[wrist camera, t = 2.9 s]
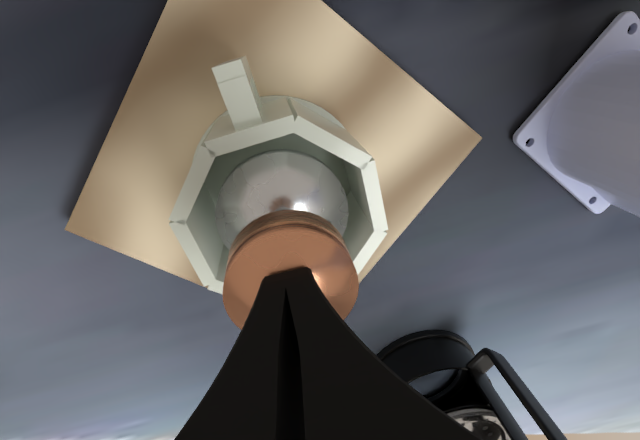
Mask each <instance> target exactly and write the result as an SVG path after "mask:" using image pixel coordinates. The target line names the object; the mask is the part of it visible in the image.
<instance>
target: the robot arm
mask: <svg viewBox="0 0 640 440" xmlns="http://www.w3.org/2000/svg"><path fill="white" fill-rule="evenodd" d="M629 26H630V30H629V31H628V28H629ZM627 31H628V32H627ZM529 138H530V141H529V143H528V144H526V141H527V140H528V139H529ZM513 142H514V144H516V145H517V146H518V147H519V148H520V149H521V150H522V151H523V152H525V153H526V154H527V155H528V156H529V157H530V158H531V159H532V160H534V161H535V162H536V163H537V164H538V165H539V166H540V167H541V168H542V169H544V170H545V171H546V172H547V173H548V174H549V175H550V176H551V177H553V178H554V179H555V180H556V181H557V182H558V183H559V184H560V185H562V186H563V187H564V188H565V189H566V190H567V191H568V192H569V193H571V194H572V195H573V196H574V197H575V198H576V199H577V200H578V201H579V202H581V203H582V204H583V205H584V206H585V207H586V208H587V209H588V210H590V211H591V212H593V213H595V214H599V213H602V212H603V211H604V210H605V209H606V208H607V207H608V206H610V205H611V204H612V205H615V206H617V207H619V208H621V209H623V210H625V211H627V212H630V213H632V214H634V215H636V216H638V217H640V19H639V18H638V16H637V15H636V14H635V13H634V12H633V11H626V12H622V13H620V14H619V15H618V16H617V17H616V18H615V19H614V20H613V21H612V22H611V23H610V25H609V26H608V27H607V28H606V29H605V30H604V31H603V33H602V34H601V35H600V36H599V37H598V38H597V39H596V41H595V42H594V43H593V44H592V45H591V46H590V47H589V49H588V50H587V51H586V52H585V53H584V54H583V55H582V57H581V58H580V59H579V60H578V61H577V62H576V63H575V65H574V66H573V67H572V68H571V69H570V70H569V71H568V73H567V74H566V75H565V76H564V77H563V78H562V79H561V81H560V82H559V83H558V84H557V85H556V86H555V87H554V89H553V90H552V91H551V92H550V93H549V94H548V95H547V96H546V98H545V99H544V100H543V101H542V102H541V103H540V104H539V106H538V107H537V108H536V109H535V110H534V111H533V112H532V114H531V115H530V116H529V117H528V118H527V119H526V120H525V122H524V123H523V124H522V125H521V126H520V127H519V128H518V130H517V131H516V132H515V134H514V135H513ZM174 440H483V439H481V438H480V437H479V436H477V435H476V434H474V433H473V432H471V431H470V430H468V429H467V428H465V427H464V426H462V425H461V424H460V423H458V422H457V421H456V420H454V419H453V418H451V417H450V416H449V415H447V414H446V413H445V412H443V411H442V410H440V409H439V408H438V407H436V406H435V405H434V404H432V403H431V402H430V401H429V400H427V399H426V398H425V397H424V396H422V395H421V394H420V393H419V392H417V391H416V390H415V389H414V388H413V387H411V386H410V385H409V384H408V383H406V382H405V381H404V380H403V379H401V378H400V377H399V376H398V375H397V374H396V373H394V372H393V371H392V370H391V369H390V368H389V367H388V366H387V365H386V364H384V363H383V362H382V361H381V360H380V359H379V358H378V357H377V356H376V355H375V354H374V353H373V352H372V351H371V350H370V349H369V348H368V347H367V346H366V345H365V344H364V343H363V342H362V341H361V340H360V339H359V338H358V337H357V336H356V334H355V333H354V332H353V331H352V330H351V329H350V328H349V326H348V325H347V324H346V323H345V322H344V321H343V319H342V318H341V317H340V316H339V314H338V313H337V312H336V310H335V309H334V308H333V306H332V305H331V304H330V302H329V301H328V300H327V298H326V297H325V295H324V294H323V292H322V291H321V289H320V287H319V286H318V284H317V282H316V280H315V278H314V276H313V273H312V270H311V269H310V268H308V267H303V268H299V269H295V270H291V271H286V272H282V273H278V274H273V275H269V276H265V277H264V278H263V280H262V282H261V285H260V287H259V290H258V293H257V296H256V298H255V301H254V303H253V306H252V308H251V310H250V313H249V315H248V317H247V319H246V321H245V324H244V326H243V328H242V330H241V332H240V334H239V336H238V338H237V340H236V342H235V344H234V346H233V348H232V350H231V352H230V354H229V355H228V357H227V359H226V361H225V363H224V365H223V367H222V368H221V370H220V372H219V373H218V375H217V377H216V379H215V380H214V382H213V383H212V385H211V387H210V388H209V390H208V391H207V393H206V394H205V396H204V398H203V399H202V401H201V402H200V404H199V405H198V407H197V408H196V410H195V411H194V412H193V414H192V415H191V417H190V418H189V420H188V421H187V422H186V424H185V425H184V427H183V428H182V430H181V431H180V432H179V434H178V435H177V437H176V438H175V439H174Z"/></svg>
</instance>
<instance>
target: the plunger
mask: <svg viewBox="0 0 640 440" xmlns="http://www.w3.org/2000/svg"><path fill="white" fill-rule="evenodd" d="M215 220H216V226H217V230H218V233H219V235H220V238H221V239H222V241H223V243H224V244H225V246H226V247H227V248H228V250H229V254H228V260H227V266H226V272H225V278H224V284H223V302H224V306H225V309H226V311H227V314H228V315H229V317H230V318H231V320H232V321H233V322H234V323H235V324H236V326H238V327H239V328H240V329H241V330H242V328H243V326H244V324H245V321H246V319H247V317H248V315H249V313H250V310H251V308H252V306H253V303H254V301H255V298H256V296H257V293H258V290H259V287H260V285H261V282H262V280H263V278H264V277H265V276H269V275H273V274H278V273H282V272H286V271H291V270H295V269H299V268H303V267H308V268H310V269H311V270H312V273H313V276H314V278H315V280H316V282H317V284H318V286H319V287H320V289H321V291H322V292H323V294H324V295H325V297H326V298H327V300H328V301H329V302H330V304H331V305H332V306H333V308H334V309H335V310H336V312H337V313H338V314H339V316H340V317H341V318H342V319H343V320H344V319H345V318H346V317H347V315H348V314H349V313H350V311H351V310H352V308H353V306H354V304H355V302H356V299H357V295H358V289H359V280H358V275H357V272H356V269H355V266H354V264H353V261H352V259H351V256H350V254H349V252H348V249H347V247H346V244H345V242H344V239H343V238H342V236H343V234H344V232H345V229H346V226H347V222H348V202H347V197H346V194H345V191H344V189H343V187H342V185H341V183H340V181H339V180H338V178H337V177H336V175H335V174H334V172H333V171H332V170H331V169H330V168H329V167H328V166H327V165H326V164H324V163H323V162H322V161H321V160H319V159H317V158H316V157H314V156H312V155H309V154H307V153H304V152H300V151H297V150H290V149H276V150H268V151H264V152H261V153H258V154H255V155H253V156H251V157H249V158H247V159H245V160H244V161H242V162H241V163H240V164H238V165H237V166H236V167H235V168H234V169H233V170H232V171H231V172H230V174H229V175H228V176H227V177H226V179H225V181H224V183H223V184H222V187H221V189H220V192H219V195H218V198H217V203H216V208H215Z"/></svg>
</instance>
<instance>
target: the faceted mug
mask: <svg viewBox="0 0 640 440" xmlns="http://www.w3.org/2000/svg"><path fill="white" fill-rule="evenodd" d="M212 71H213V73H214V76H215V78H216V81H217V84H218V87H219V89H220V92H221V95H222V97H223V100H224V102H225V105H226V107H227V110H226V111H225V112H224V113H223V114H221V115H220V116H219V117H218V118H217V119H216V120H215V121H214V122H213V123H212V124H211V125H210V126H209V128H208V129H207V130H206V132H205V133H204V135H203V136H202V138H201V140H200V142H199V144H198V146H197V148H196V151H195V154H194V157H193V161H192V166H191V168H190V171H189V173H188V175H187V178H186V180H185V182H184V185H183V187H182V189H181V192H180V194H179V196H178V198H177V201H176V203H175V205H174V208H173V210H172V212H171V215H170V217H169V219H168V220H170V222H169V225H170V227H171V229H172V230H173V232H174V234H175V236H176V238H177V239H178V241H179V243H180V245H181V247H182V248H183V250H184V252H185V254H186V255H187V257H188V259H189V261H190V263H191V264H192V266H193V268H194V270H195V272H196V273H197V275H198V277H199V279H200V281H201V282H202V284H203V286H204V287H205V286H208V288H207V289H208V290H211V291H214V292H217V293H220V294H223V284H224V278H225V272H226V266H227V260H228V254H229V250H228V248H227V247H226V246H225V244H224V243H223V241H222V239H221V238H220V235H219V233H218V230H217V226H216V220H215V208H216V203H217V198H218V195H219V192H220V189H221V187H222V184H223V183H224V181H225V179H226V177H227V176H228V175H229V174H230V172H231V171H232V170H233V169H234V168H235V167H236V166H237V165H238V164H240V163H241V162H242V161H244V160H245V159H247V158H249V157H251V156H253V155H255V154H258V153H261V152H264V151H268V150H276V149H290V150H297V151H300V152H304V153H307V154H309V155H312V156H314V157H316V158H317V159H319V160H321V161H322V162H323V163H324V164H326V165H327V166H328V167H329V168H330V169H331V170H332V171H333V172H334V174H335V175H336V177H337V178H338V180H339V181H340V183H341V185H342V187H343V189H344V191H345V194H346V197H347V202H348V222H347V226H346V229H345V232H344V234H343V236H342V238H343V239H344V242H345V244H346V247H347V249H348V252H349V254H350V256H351V259H352V261H353V264H354V266H355V269H356V272H357V275H358V274H359V273H360V271H361V270H362V269H363V267H364V266H365V264H366V263H367V262H368V260H369V259H370V257H371V256H372V254H373V253H374V252H375V250H376V249H377V247H378V246H379V245H380V243H381V242H382V240H383V239H384V238H385V236H386V235H387V232H386V230H388V225H387V220H386V215H385V210H384V205H383V200H382V195H381V190H380V184H379V179H378V174H377V169H376V164H375V160H374V159H373V158H372V156H371V155H370V154H369V153H368V152H367V151H366V150H365V149H364V148H363V147H362V146H361V144H360V143H359V142H358V141H357V140H356V139H355V138H354V137H353V136H352V135H351V134H350V133H349V132H348V131H347V130H346V129H345V128H344V126H343V125H342V124H341V123H340V122H339V121H338V120H337V119H336V118H335V117H334V116H333V115H332V114H330V113H329V112H328V111H326V110H325V109H323V108H322V107H320V106H318V105H316V104H314V103H312V102H310V101H307V100H304V99H301V98H297V97H292V96H286V95H269V96H259V93H258V90H257V87H256V84H255V81H254V78H253V75H252V72H251V70H250V67H249V64H248V61H247V58H246V55H245V56H242V57H239V58H236V59H232V60H229V61H226V62H223V63H221V64H219V65H217V66H214V67H212Z"/></svg>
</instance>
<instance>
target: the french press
mask: <svg viewBox="0 0 640 440" xmlns="http://www.w3.org/2000/svg"><path fill="white" fill-rule="evenodd" d="M377 357H378V358H379V359H380V360H381V361H382V362H383V363H384V364H386V365H387V366H388V367H389V368H390V369H391V370H392V371H393V372H394V373H396V374H397V375H398V376H399V377H400V378H401V379H403V380H404V381H405V382H406V383H410V382H411V381H413V380H415V379H418V378H420V377H422V376H424V375H427V374H430V373H433V372H437V371H442V370H448V369H459V372H458V374H457V376H456V378H455V379H454V381H453V382H452V383H451V384H450V385H449V386H448V387H447V388H446V389H444V390H443V391H441V392H440V393H438V394H436V395H434V396H432V397H430V398H427V400H429V401H430V402H431V403H432V404H434V405H435V406H436V407H438V408H439V409H440V410H442V411H443V412H445V413H446V414H447V415H449V416H450V417H451V418H453V419H454V420H456V421H457V422H458V423H460V424H461V425H462V426H464V427H465V428H467V429H468V430H470V431H471V432H473V433H474V434H476V435H477V436H479V437H480V438H481V439H483V440H528V439H527V437H526V436H525V434H524V433H523V431H522V430H521V428H520V427H519V425H518V424H517V422H516V421H515V419H514V418H513V416H512V415H511V413H510V412H509V410H508V409H507V407H506V406H505V404H504V403H503V401H502V400H501V398H500V397H499V395H498V394H497V392H496V391H495V389H494V388H493V386H492V384H491V381H490V379H489V378H488V376H487V375H486V372H487V371H488V370H489V369H490V368H491V367H492V366H493V365H495V366H496V368H497V369H498V370H499V372H500V373H501V375H502V376H503V377H504V379H505V380H506V382H507V383H508V384H509V386H510V387H511V389H512V390H513V391H514V393H515V394H516V396H517V397H518V398H519V400H520V401H521V402H522V404H523V405H524V407H525V408H526V409H527V411H528V412H529V414H530V415H531V416H532V418H533V419H534V421H535V422H536V423H537V425H538V426H539V428H540V429H541V430H542V432H543V433H544V435H545V436H546V437H547V439H548V440H567V438H566V437H565V436H564V435H563V433H562V432H561V431H560V429H559V428H558V427H557V425H556V424H555V423H554V422H553V420H552V419H551V418H550V416H549V415H548V414H547V412H546V411H545V410H544V408H543V407H542V406H541V405H540V403H539V402H538V401H537V399H536V398H535V397H534V395H533V394H532V393H531V392H530V390H529V389H528V388H527V386H526V385H525V384H524V382H523V381H522V380H521V378H520V377H519V376H518V375H517V373H516V372H515V371H514V369H513V368H512V367H511V365H510V364H509V363H508V362H507V360H506V359H505V358H504V357H503V356H502V355H501V354H499V353H497V352H495V351H493V350H490V349H488V348H483V349H482V350H481V351H479V352H478V353H477V354H476V355H475V354H474V352H473V350H472V348H471V346H470V345H469V344H468V343H467V341H466V340H465V339H463V338H462V337H460V336H458V335H457V334H454V333H451V332H448V331H440V330H432V331H423V332H418V333H414V334H411V335H408V336H405V337H403V338H401V339H399V340H397V341H395V342H393V343H392V344H390V345H389V346H387V347H386V348H384V349H383V350H382V351H381V352H380V353H379V354H378V355H377ZM489 405H490V406H489Z"/></svg>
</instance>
